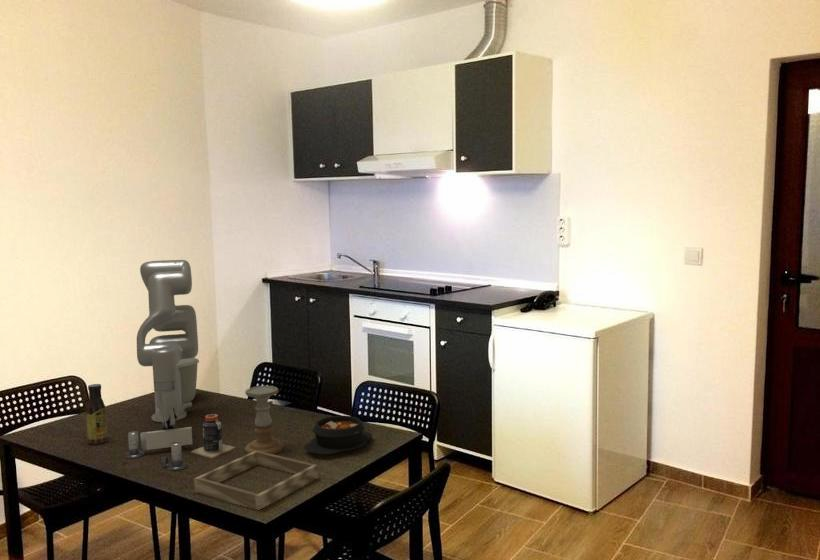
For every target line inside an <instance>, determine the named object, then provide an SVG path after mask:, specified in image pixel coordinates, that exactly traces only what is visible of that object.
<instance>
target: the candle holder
mask: <svg viewBox="0 0 820 560" xmlns="http://www.w3.org/2000/svg"><path fill="white" fill-rule="evenodd" d="M278 393H279V388H278V387H276V386H273V385H258V386H253V387H250V388H249V387H248V388H247V389H245V395H246V396H247V397H250V398H254V400H256V405H255V406H254V410H256V415H255V419H254V424H255V426H256V427H255V428H254V433H255V434H256V439H253V440H252V441H250V442H249V443H248V444H246V445H245V448H244V451H245V454H246V455H247V454H249V453H251V452H254V451H260V452H264V453H269V454H273V455H276V454H278V453H281V452H282V451H283V449H284V443H283V442H282V441H280V440H278V439H277V438H274V437H272V431H273V430H274V428H273V427H272V426H271V424H272V423H273V420H272V417H271V414H270V408H271V405H270V404H269V399H270V398H271V397H272V396H275V395H277V394H278Z"/></svg>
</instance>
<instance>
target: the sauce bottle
mask: <svg viewBox="0 0 820 560" xmlns="http://www.w3.org/2000/svg"><path fill="white" fill-rule="evenodd" d="M87 389H88V401H87V403H86V406H85V420H86V421H85V422H86V438H87V443H88V444H89V445H99V444H102V443H103V444H104V443H105V442H107V440H108V438H107V437H108V426H107V425H108V424H107V423H108V422H107V408H106V404H105V403H104V400H103V398H102V384H100V383H92V384H89V385H87Z"/></svg>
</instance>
